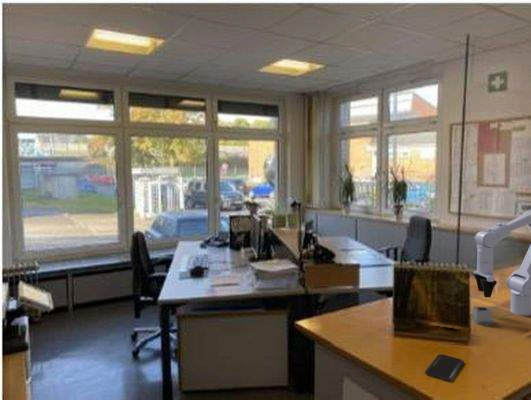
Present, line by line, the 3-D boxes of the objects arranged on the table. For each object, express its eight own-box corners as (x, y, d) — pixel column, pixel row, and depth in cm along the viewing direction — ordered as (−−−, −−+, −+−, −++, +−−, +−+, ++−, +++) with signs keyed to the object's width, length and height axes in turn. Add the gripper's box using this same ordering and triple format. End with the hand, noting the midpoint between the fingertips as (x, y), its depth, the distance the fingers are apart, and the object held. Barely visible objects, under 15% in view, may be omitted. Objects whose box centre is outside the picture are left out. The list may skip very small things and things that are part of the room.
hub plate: (478, 319, 166) (478, 309, 166) (496, 324, 160) (496, 314, 160) (469, 323, 162) (469, 313, 162) (486, 328, 157) (486, 318, 156)
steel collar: (472, 318, 164) (472, 306, 164) (487, 319, 163) (487, 306, 163) (476, 323, 159) (477, 311, 159) (492, 324, 158) (492, 311, 158)
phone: (464, 360, 131) (451, 379, 119) (464, 363, 131) (451, 383, 119) (439, 353, 136) (423, 371, 124) (439, 356, 136) (423, 375, 124)
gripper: (469, 257, 173) (468, 288, 175) (479, 265, 159) (479, 299, 160) (487, 257, 172) (486, 289, 173) (499, 265, 158) (498, 300, 159)
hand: (484, 294), depth 167 cm, fingers open, 7 cm apart
